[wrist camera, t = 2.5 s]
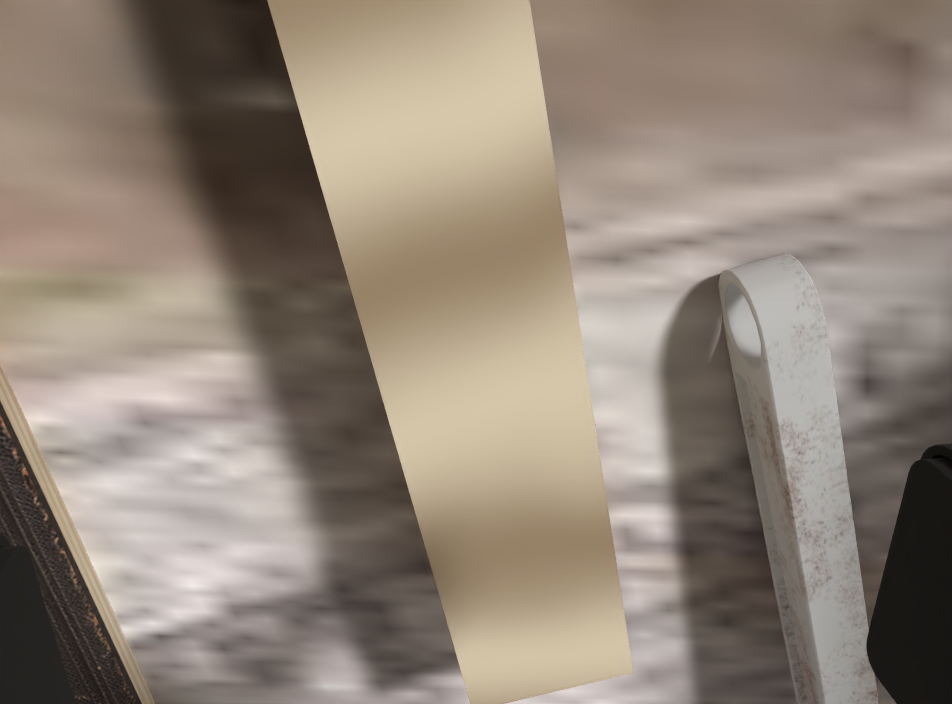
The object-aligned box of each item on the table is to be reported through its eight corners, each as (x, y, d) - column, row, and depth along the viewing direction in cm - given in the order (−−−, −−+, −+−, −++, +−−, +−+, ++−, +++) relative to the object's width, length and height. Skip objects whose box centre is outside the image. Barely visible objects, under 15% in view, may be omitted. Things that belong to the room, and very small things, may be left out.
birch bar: (589, 550, 27) (633, 672, 22) (455, 582, 27) (472, 711, 22) (421, -414, 16) (443, -555, 11) (195, -365, 16) (126, -487, 11)
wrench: (734, 222, 25) (851, 892, 36) (675, 240, 25) (810, 904, 36) (877, 293, 18) (974, 1118, 28) (794, 318, 18) (921, 1133, 28)
